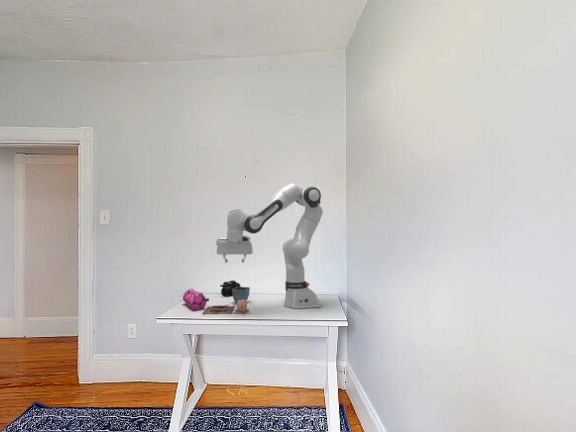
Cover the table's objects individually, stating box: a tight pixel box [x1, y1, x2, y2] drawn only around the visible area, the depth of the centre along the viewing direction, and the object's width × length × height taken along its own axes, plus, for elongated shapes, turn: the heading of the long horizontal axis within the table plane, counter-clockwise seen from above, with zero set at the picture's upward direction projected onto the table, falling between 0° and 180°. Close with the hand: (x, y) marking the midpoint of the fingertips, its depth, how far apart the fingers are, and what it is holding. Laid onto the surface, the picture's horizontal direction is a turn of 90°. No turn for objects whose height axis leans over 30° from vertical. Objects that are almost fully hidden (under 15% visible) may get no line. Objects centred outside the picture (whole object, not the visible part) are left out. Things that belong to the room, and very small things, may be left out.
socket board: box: [202, 304, 236, 315], centre depth 197 cm, size 16×16×2 cm
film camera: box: [220, 280, 241, 298], centre depth 236 cm, size 18×12×10 cm
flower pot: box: [232, 286, 251, 304], centre depth 215 cm, size 9×9×9 cm
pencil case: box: [182, 288, 210, 311], centre depth 206 cm, size 21×10×10 cm, turn 35°
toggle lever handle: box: [236, 299, 248, 312], centre depth 191 cm, size 10×5×6 cm, turn 15°
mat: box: [233, 308, 250, 315], centre depth 194 cm, size 8×8×1 cm
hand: (234, 262), depth 198 cm, fingers open, 8 cm apart
